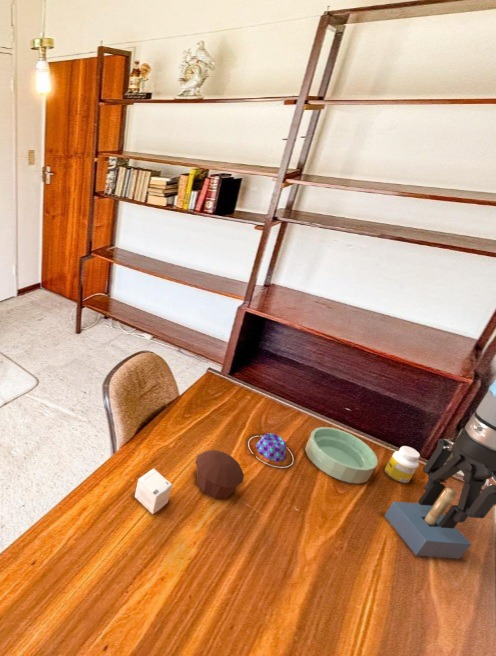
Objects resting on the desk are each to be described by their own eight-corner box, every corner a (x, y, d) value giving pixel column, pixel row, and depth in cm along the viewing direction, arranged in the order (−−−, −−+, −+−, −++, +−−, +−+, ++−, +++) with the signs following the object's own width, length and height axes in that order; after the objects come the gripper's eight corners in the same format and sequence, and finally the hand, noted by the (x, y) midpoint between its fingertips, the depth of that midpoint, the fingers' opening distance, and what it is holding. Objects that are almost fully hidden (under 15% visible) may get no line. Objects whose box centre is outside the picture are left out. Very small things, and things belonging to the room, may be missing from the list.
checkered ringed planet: (300, 472, 111) (306, 459, 108) (255, 466, 112) (260, 452, 110) (283, 440, 121) (288, 427, 119) (242, 435, 123) (246, 422, 121)
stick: (418, 534, 95) (452, 485, 88) (424, 541, 94) (460, 492, 86) (410, 533, 95) (444, 485, 88) (417, 541, 94) (452, 492, 87)
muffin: (190, 496, 102) (198, 468, 98) (190, 463, 112) (197, 437, 108) (239, 510, 99) (250, 483, 95) (235, 476, 109) (244, 449, 104)
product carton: (149, 487, 104) (153, 467, 101) (167, 504, 100) (173, 484, 97) (133, 498, 101) (137, 478, 98) (152, 516, 97) (157, 496, 94)
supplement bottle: (385, 465, 114) (400, 440, 110) (409, 478, 110) (425, 452, 106) (381, 475, 111) (395, 450, 106) (405, 488, 107) (421, 463, 103)
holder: (422, 520, 99) (434, 504, 96) (458, 560, 90) (471, 544, 87) (382, 517, 99) (393, 501, 96) (414, 557, 90) (426, 541, 88)
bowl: (345, 443, 121) (352, 428, 119) (382, 487, 107) (392, 471, 105) (294, 440, 122) (300, 425, 119) (324, 483, 108) (332, 467, 105)
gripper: (432, 408, 89) (389, 480, 99) (515, 475, 73) (453, 553, 83) (466, 410, 89) (419, 482, 99) (556, 477, 73) (490, 555, 83)
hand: (435, 514), depth 91 cm, fingers open, 5 cm apart
